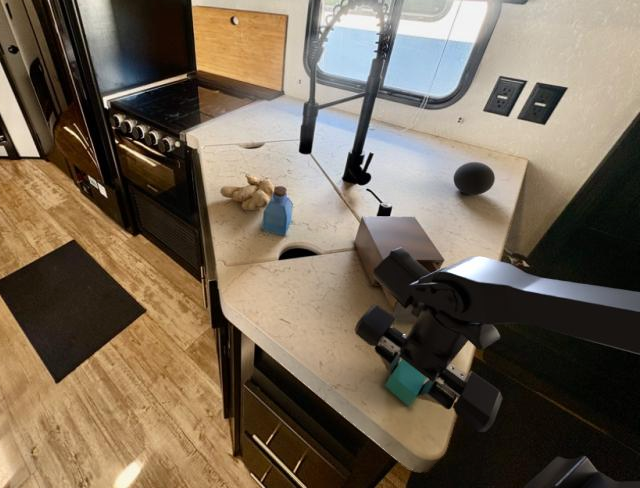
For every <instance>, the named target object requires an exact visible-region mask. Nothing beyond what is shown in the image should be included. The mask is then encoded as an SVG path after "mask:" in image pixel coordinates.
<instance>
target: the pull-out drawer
mask: <svg viewBox="0 0 640 488" xmlns="http://www.w3.org/2000/svg"><path fill="white" fill-rule="evenodd" d="M418 263H420V264H421V265H422V266H423V267H424V268H425V269H427V270H428V271H429V272H430V273H433V272H435V271H437V270H439V269H441V267H440V268H439V267H438V265H437V264H436V262H418ZM380 287H381V289H382V291H383V292H384V295H385V297H386V300H387V302H388V305H389V307H390V309H391V311H393V312H392V313H391V315H393V316H394V317H396V318H397V319H396V320H395V322H394V324H399V323H400V324H414V323H415V322H416V320H417V318H416V317H415V316H413V315H412V314H411V311H412V309H413V308H414V307H413V306H412V305H409V306H408V307H407V308H404V307H403V306H402V305H401V304H400V303H399V302H398V301H397V300H396V299H395V298H394V297H393V296H392V295H391V294H390V293H389V292H388V291H387V290H386V289H385V288H384V287H383V286H382V285H381V286H380Z"/></svg>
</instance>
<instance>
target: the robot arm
mask: <svg viewBox="0 0 640 488" xmlns="http://www.w3.org/2000/svg"><path fill="white" fill-rule="evenodd" d="M373 277H374V278H375V279H376V280H377V281H378V282H379V283H380V284H381V285H382V286H383V287H384V288H385V289H386V290H387V291H388V292H389V293H390V294H391V295H392V296H393V297H394V298H395V299H396V300H397V301H398V302H399V303H400V304H401V305H402V306H403V307H404V308H407V307H408V306H409V305H412V306H413V307H414V308H413V309H412V311H411V314H412V315H413V316H415V317H416V318H417V320H416V322H415V323H413V325H412V327H411V329H410V330H409V332H408V334H406V333H402V331H400V330H399V329H398V328H396V327H394V326H392V325H394V324H395V323H394V322H395V320H396V319H397V318H396V317H394V316H393V315H392V313H390V312H389V311H387V310H386V309H384V308H383V307H382V306H380V305H378V304H372V305H370V307H369V308H368V309H367V310H366V311H365V312H364V313H363V315H362V316H361V317H360V318H359V319H358V321H357V323H356V325H355V327H354V332H355V335H357V336H358V337H359V338H360V339H362V340H363V341H364V342H365V343H367V345H369V346H371V347H374V352H375V353H376V354H377V356H379V358H380V359H381V362H382V363H383V365H384V367H385V369H386V372H387V374H388V376H389V377H390V376H391V375H392V373H393V372H394V370H395V369H396V367H397V366H398V364H399V363H400V361H401V360H402V359H403V360H405V361H406V362H407V363H408V364H410V365H411V366H412V367H414V368H415V369H416V370H417V371H419V372H420V373H421V374H423V375H424V376H425V377H427V380H426V381H425V382H424V384H423V386H422V388H421V389H420V391H419V393H418V395H417V396H416V397H415V399H418V400H421V401H427V402H431V403H434V404H437V405H440V406H441V407H443V408H444V409H446V410H451V409H453V410H454V413H455V415H457V416H458V417H459V418H461V420H463V421H465V423H467V424H468V425H469V426H470V427H471V428H473V430H475V431H477V432H479V433H486V432H487V431H488V430H489V429H491V428H492V426H493V424H494V423H495V420H496V417H497V414H498V412H499V409H500V406H501V404H502V402H503V396H502V393H501V391H500V389H498V388H497V387H495V386H494V385H493V384H491V383H490V382H488V381H487V380H486V379H484V378H483V377H481V376H480V375H478V374H477V373H476V372H474V371H472V370H470V371H469V372H468V373H466V372H465V371H464V370H462V369H461V368H459V367H458V366H457V365H455V364H453V363H452V362H453V361H454V359H455V358H456V357H457V355H459V353H460V352H461V350H462V349H463V348H464V346H466V344H467V343H468V342H469V343H470V344H471V345H472V346H474V347H475V348H476V349H477V350H479V351H482V350H484V349H485V348H487V347H488V346H490V345H492V344H493V343H495V342H496V341H498V340H500V339H501V335H500V333H499V331H498V329H497V328H496V327H495V326H494V325H512V324H513V325H515V324H517V325H526V326H531V327H536V328H540V329H543V330H544V329H545V330H547V331H551V332H554V333H558V334H562V335H566V336H570V337H573V338H577V339H581V340H584V341H588V342H592V343H596V344H598V345H599V344H600V345H603V346H606V347H611V348H613V349H618V350H620V351H625V352H629V353H633V354H635V355H636V354H637V355H640V291H634V290H628V289H621V288H613V287H607V286H600V285H594V284H587V283H579V282H572V281H566V280H560V279H552V278H544V277H541V276H536V275H533V274H530V273H528V272H527V273H526V272H525V271H523V270H522V269H520V268H518V267H517V266H515V265H514V264H511V263H508V262H504V261H500V260H496V259H492V258H489V257H485V256H480V255H475V256H469V257H466V258H465V259H462V260H460V261H458V262H456V263H454V264H451V265H449V266H446V267H440V269H439V270H437V271H435V272H433V273H430V272H429V271H428V270H427V269H425V268H424V267H423V266H422V265H421V264H420V263H418V262H417V261H416V260H415V259H414V258H412V257H411V256H410V254H409V253H408V252H407V251H406V250H404V249H403V248H402V247H399V248H397V249H394V250H392V251H391V252H390V254H389V256H388V257H386V258H385V259H384V260H383V261H382V262H381V263H380V264H379V265H378V266H377V267H376V268H375V269H374V271H373ZM382 286H381V287H382ZM523 488H640V480H636V481H635V480H633V481H630V480H629V481H617V480H614V479H612V478H611V477H609V476H608V475H606V474H604V473H602V472H600V471H599V470H597V469H596V467H595V466H594V465H593V463H592V462H591V461H590V459H589V458H588V457H587V456H586V455H580V456H578V457H576V458H571V459H570V458H564V457H562V456H556V457H555V458H553V460H552V461H550V462H549V463H548V464H547V465H546V466H545V467H544V468H543V469H542V470H541V471H539V473H538V474H537V475H535V476H534V477H533V478H532V479H531V480H530V481H529V482H528V483H526V485H525V486H524V487H523Z"/></svg>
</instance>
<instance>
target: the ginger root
mask: <svg viewBox="0 0 640 488" xmlns="http://www.w3.org/2000/svg"><path fill="white" fill-rule="evenodd" d="M245 178H246V180H247V181H246V182H247V184H248V185H245V186H241V187H240V186H236V185H225V186H222V187H221V188H220V190H219V191H220V194H221V196H222V197H224V198H226V199H227V198H228V199H233V200H234V201H235V202H241V203H242V204H241V208H242V209H243V210H245V211H256V210H258V209H265V208H266V207H267V205H268V203H269V201H270V199H271V198H272V196H273V192H274V188H275V187H277V186H276V185H273V183H272V182H271V180H270V179H269V178H265V179H264V178H263V179H260V178H258V177H256V176H251V174H250V173H249V174H248V173H246V174H245Z"/></svg>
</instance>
